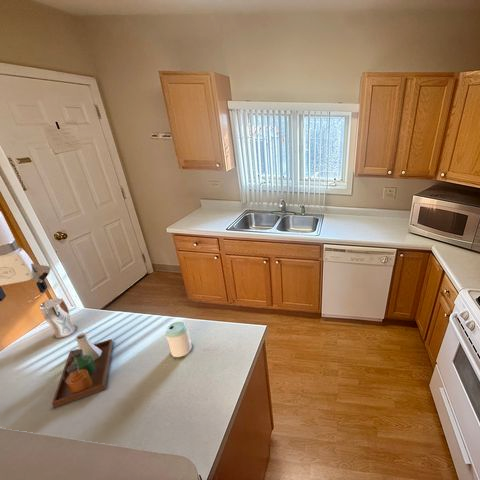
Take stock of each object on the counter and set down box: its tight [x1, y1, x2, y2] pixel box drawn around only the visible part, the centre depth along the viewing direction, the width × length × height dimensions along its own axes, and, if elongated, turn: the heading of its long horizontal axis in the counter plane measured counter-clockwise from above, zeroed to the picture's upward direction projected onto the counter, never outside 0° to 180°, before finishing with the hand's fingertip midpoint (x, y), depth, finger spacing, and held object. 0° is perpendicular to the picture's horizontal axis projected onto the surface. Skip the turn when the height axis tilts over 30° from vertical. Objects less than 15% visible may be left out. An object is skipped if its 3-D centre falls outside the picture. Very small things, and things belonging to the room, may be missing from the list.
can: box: [165, 321, 193, 358], centre depth 96 cm, size 7×7×12 cm
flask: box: [74, 332, 102, 361], centre depth 91 cm, size 7×7×10 cm
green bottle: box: [71, 349, 96, 375], centre depth 86 cm, size 5×5×9 cm
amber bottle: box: [66, 364, 93, 394], centre depth 81 cm, size 5×5×9 cm
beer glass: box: [38, 297, 76, 339], centre depth 101 cm, size 7×7×15 cm
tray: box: [51, 339, 114, 408], centre depth 88 cm, size 22×12×2 cm, turn 31°
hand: (23, 294), depth 84 cm, fingers open, 9 cm apart
